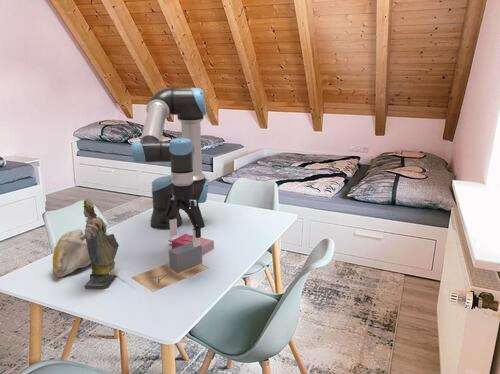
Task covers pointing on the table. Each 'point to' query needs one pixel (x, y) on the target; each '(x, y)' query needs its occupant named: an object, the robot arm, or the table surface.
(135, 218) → the table surface
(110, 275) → the statue
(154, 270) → the oak board
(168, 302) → the table surface
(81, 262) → the stone
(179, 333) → the table surface
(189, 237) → the pink flat block
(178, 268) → the block
